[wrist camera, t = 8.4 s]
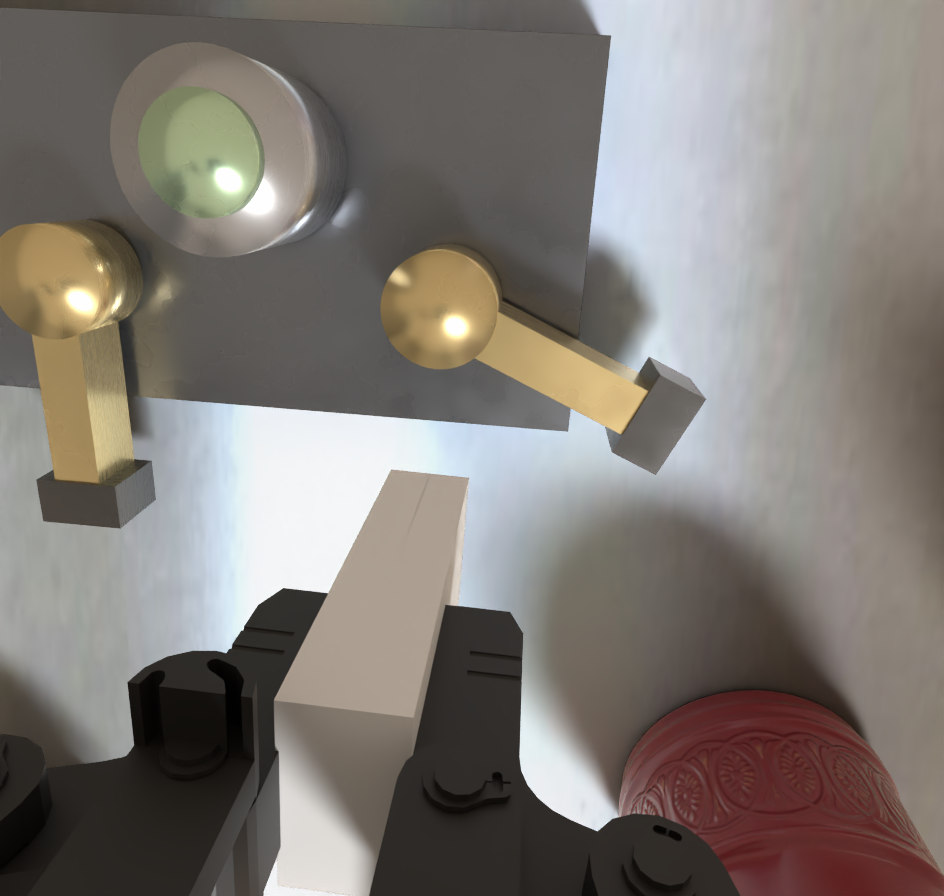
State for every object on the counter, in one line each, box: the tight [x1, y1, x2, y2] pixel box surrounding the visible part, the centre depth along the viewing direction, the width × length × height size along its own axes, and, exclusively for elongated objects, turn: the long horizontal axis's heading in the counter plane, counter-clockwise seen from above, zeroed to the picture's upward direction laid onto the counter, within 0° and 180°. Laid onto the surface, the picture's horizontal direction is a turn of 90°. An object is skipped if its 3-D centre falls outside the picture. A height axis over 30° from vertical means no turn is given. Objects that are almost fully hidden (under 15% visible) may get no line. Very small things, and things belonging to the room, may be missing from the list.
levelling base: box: [0, 8, 611, 431], centre depth 25 cm, size 24×14×8 cm, turn 87°
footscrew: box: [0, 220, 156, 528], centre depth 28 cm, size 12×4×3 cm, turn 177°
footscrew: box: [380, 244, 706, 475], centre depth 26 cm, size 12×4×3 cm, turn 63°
